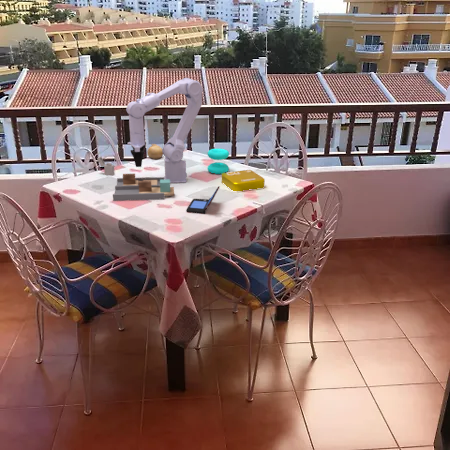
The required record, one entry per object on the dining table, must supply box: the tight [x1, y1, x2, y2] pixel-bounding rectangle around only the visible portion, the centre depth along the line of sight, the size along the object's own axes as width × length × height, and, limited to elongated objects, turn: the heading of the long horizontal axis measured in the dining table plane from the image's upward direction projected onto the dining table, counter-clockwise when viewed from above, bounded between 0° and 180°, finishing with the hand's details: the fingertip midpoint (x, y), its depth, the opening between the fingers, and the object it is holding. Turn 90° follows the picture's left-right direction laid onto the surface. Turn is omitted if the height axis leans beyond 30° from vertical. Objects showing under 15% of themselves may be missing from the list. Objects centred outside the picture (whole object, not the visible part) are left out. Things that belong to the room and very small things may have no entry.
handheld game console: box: [185, 186, 220, 215], centre depth 182 cm, size 12×11×7 cm
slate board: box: [112, 176, 165, 202], centre depth 198 cm, size 20×20×2 cm
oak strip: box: [139, 181, 175, 197], centre depth 193 cm, size 14×8×5 cm, turn 97°
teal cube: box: [160, 179, 171, 192], centre depth 193 cm, size 4×4×4 cm
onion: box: [146, 143, 164, 160], centre depth 240 cm, size 8×8×7 cm
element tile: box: [221, 169, 266, 192], centre depth 207 cm, size 15×15×5 cm
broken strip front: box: [122, 173, 138, 186], centre depth 201 cm, size 6×8×5 cm
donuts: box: [206, 148, 230, 175], centre depth 222 cm, size 10×10×10 cm
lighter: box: [97, 156, 116, 176], centre depth 215 cm, size 7×2×8 cm, turn 77°
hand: (138, 163), depth 201 cm, fingers open, 7 cm apart
